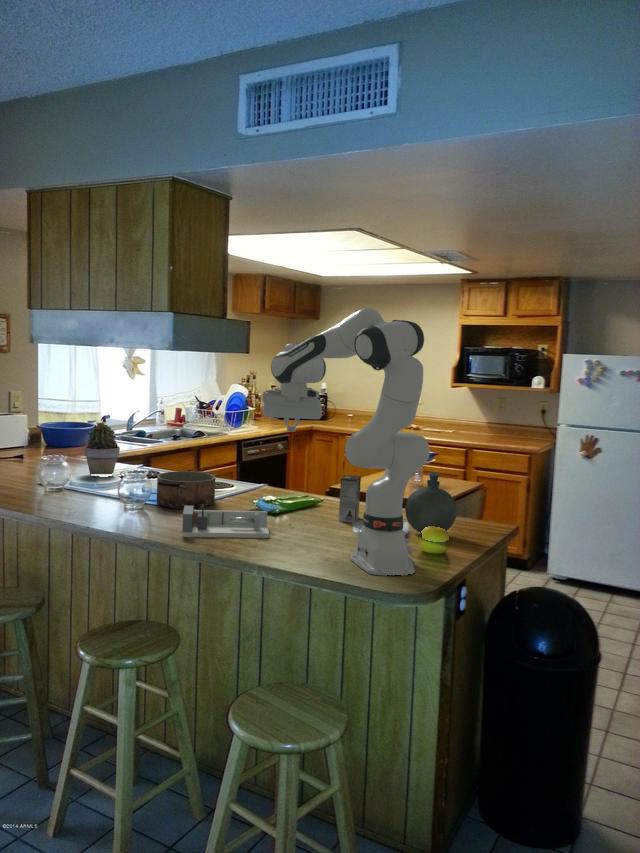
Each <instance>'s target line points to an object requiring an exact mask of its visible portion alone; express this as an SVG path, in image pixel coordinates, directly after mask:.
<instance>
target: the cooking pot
mask: <svg viewBox="0 0 640 853" xmlns="http://www.w3.org/2000/svg"><path fill="white" fill-rule="evenodd" d="M156 480H157V481H156V503H157V504H158V505H159V506H161V507H164V508H168V509H175V510H176V509H178V510H184V506H194V507H193V510H199V509H202V505H204V509H205V508H209V507H212V506H213V505H214V504H215V500H216V497H215V495H216V493H215V492H216V476H215V475H214V473H212V472H206V471H190V470H189V471H188V470H185V471H184V470H182V471H181V470H175V471H167V472H161V473H159V474H157V478H156Z"/></svg>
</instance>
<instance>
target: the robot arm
mask: <svg viewBox="0 0 640 853" xmlns="http://www.w3.org/2000/svg"><path fill="white" fill-rule="evenodd" d="M424 344H425V335H424V330H422V328H421V326H420V325H419V324H417V322H414V321H410V320H400V319H393V320H391V321H385V320H384V318H383V317H382V315H381V314H380V313H379V311H378V310H376V309H374V308H371V307H364V308H361V309H358V310H356V311H354V312H352V313H351V314H349V315H347V316H346V317H345V318H343V319H342V320H341V321H339V322H338V323H337V324H335V325H333V326H331V327H329V328H328V329H326V330H324V331H322V332H320V333H319V334H316V335H314V336H312V337H310V338H308V339H306V340H304V341H302V342H292V343H291V342H290V343H287V344H286V345H285V346H284V349H283V351H280V352H278V353H277V354H276V355H275V356H274V357H273V359H272V361H271V363H270V364H271V365H270V371H271V374H272V376H273V378H275V380H276V381H277V382H278V383H279V384H280V388H279V389H275V390H273V389H272V390H271V389H267V390H265V391H264V392H263V393H262V395H261V396H262V399H261V400H262V402H263V403H262V404H263V406H262V413H261V414H262V416H263V417H265V418H278V419H280V418H281V419H283V422H284V423H285V425H286V432H297V431H296V430H297V426H298V425H299V423H300V421H301V420H300V419H302V420H303V419H304V420H320V419H321V418H322V417H323V408H322V402H321V400H320V391H318V390H316V389H313V388H311V387H307V385H308V384H316V383H319V382H321V381H322V380H323V379H324V378H325V375H326V372H327V365H326V361H325V360H324V359H348V358H352V357H355V356H357V357H358V358H359V359H360V360H361V361H362V362H363V363H364V364H365V365H368V366H371V368H372V369H373V370H375V371H381V370H383V371H384V379H383V384H382V388H381V393H380V397H379V399H378V400H379V401H378V403H377V408H376V410H375V412H374V414H373V415H372V418H371V419H370V420H369V421H368V422H367V424H365V425H364V426H363V427H362V428H360V430H358V431H356V432H354V433H352V434H351V435H349V437H348V439H347V440H346V442H345V447H344V448H345V449H344V452H345V453H344V454H345V457H346V459H347V461H348V462H349V464H351V465H352V466H354V467H358V468H363V469H372V470H373V469H374V470H375V469H379V470H380V469H383V470H385V471H384V473H383V474H382V475H381V477H379V478H378V479H376V480H373V481H372V482H371V483H370V484H369V485H368V486H367V488H366V495H365V507H364V508H365V511H364V512H363V516H362V524H363V525H362V527H361V528H360V530H357V534H356V543H355V553H353V554H351V555H350V556H349V560H351V561H352V562H353V563H355V564H356V565H357V566H358V567H360V568H361V569H362V570H364V572H366V573H367V574H370V575H377V576H387V575H390V576H391V575H393V576H394V575H401V576H409V575H408V574H411V575H414V574H413V573H416V572H415V567H414V564H413V560H412V557H411V555H412V554H413V546H411V545H408V544H409V543H410V542H409V539H408V538H406V532H405V531H404V530H403V529H404V515H403V506H404V498H405V497H404V496H405V491H406V487H407V485H408V483H409V481H410V479H411V478H412V477H413V475H414V474H415V473H416V472H417V471H418V470H420V469H421V468H422V467H423V466H425V465H426V463H427V461H428V459H429V458H430V445H429V443H428V440H427V439H426V438H425V436H423V435H421V434H417V433H411V432H403V431H402V430H404V429H406V428H407V427H409V426H410V425H412V424H413V422H414V420H415V419H416V415H417V411H418V406H419V403H420V399H421V395H422V389H423V382H424V366H423V364H422V362H421V361H420V360H419V359H417V358H416V357H415V356H416V355H417V354H418V353H419V352H421V351H422V349H423V348H424V346H425V345H424ZM290 419H294V421H295V423H294V425H289V423H288V422H289V421H290ZM401 431H402V432H401ZM390 576H389V577H390ZM391 577H392V576H391Z"/></svg>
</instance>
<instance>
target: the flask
mask: <svg viewBox="0 0 640 853" xmlns="http://www.w3.org/2000/svg"><path fill="white" fill-rule="evenodd" d="M427 475H428V476H429V479H427V480H426V484H427V486H424V487H420V488H418V489H416V490H414V491H412V493H411V494H409V496H408V498H407V500H406V503H405V512H404V513H405V517H406V520H407V522H408V524H409V525H410V527H411V528H413V530H415V531H416V532H417V533H420V534H422V533H421V531H422V530H423V529H424V528H425V527H428V526H435V527H440V528H443V529H445V530H446V532H447V531H449V529H451V528H452V526H454V524H455V521H456V519H457V513H458V512H457V511H458V509H457V503H456V501H455V499H454V497H453V495H452V494H450V493H449V492H448V491H446V490H445V489H443V488H440V483H441V482H440V481H439V480H438V479H439V478H440V476H441V474H440V473H438V472H435V471H431V472H427Z"/></svg>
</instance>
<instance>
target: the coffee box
mask: <svg viewBox="0 0 640 853" xmlns="http://www.w3.org/2000/svg"><path fill="white" fill-rule="evenodd" d="M361 480H362V476H361V475H349V474H345V475H343V477H342V478H340V486H339V487H340V490H339V509H338V522H342V523H343V522H344V523H353V522H355V521H357V520H358V519H359V514H360V501H361V500H360V497H361V484H362V483H361ZM355 523H356V522H355Z"/></svg>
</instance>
